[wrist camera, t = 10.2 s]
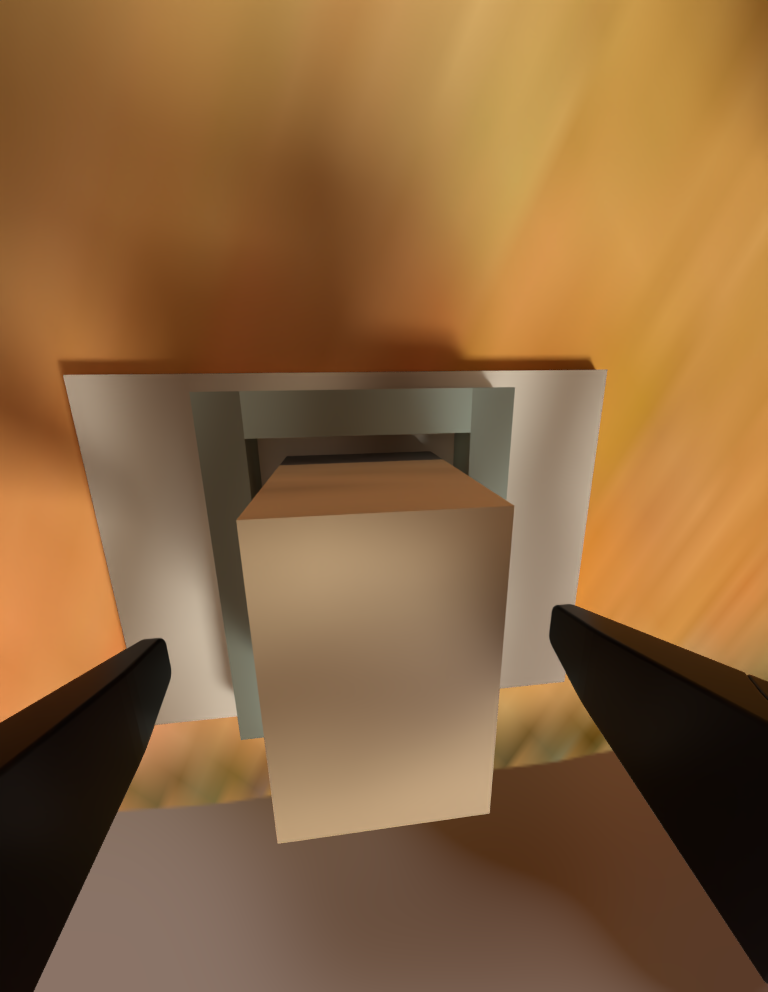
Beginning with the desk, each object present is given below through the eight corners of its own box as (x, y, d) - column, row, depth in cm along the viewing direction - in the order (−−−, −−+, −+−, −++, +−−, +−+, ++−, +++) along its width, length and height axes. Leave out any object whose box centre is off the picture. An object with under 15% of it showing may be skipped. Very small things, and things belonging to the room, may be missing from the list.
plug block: (426, 639, 14) (489, 813, 8) (303, 650, 13) (277, 843, 8) (430, 451, 12) (514, 506, 6) (286, 456, 12) (236, 520, 6)
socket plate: (597, 370, 12) (643, 366, 11) (557, 672, 16) (587, 712, 14) (75, 375, 11) (18, 372, 9) (151, 714, 14) (121, 765, 12)
